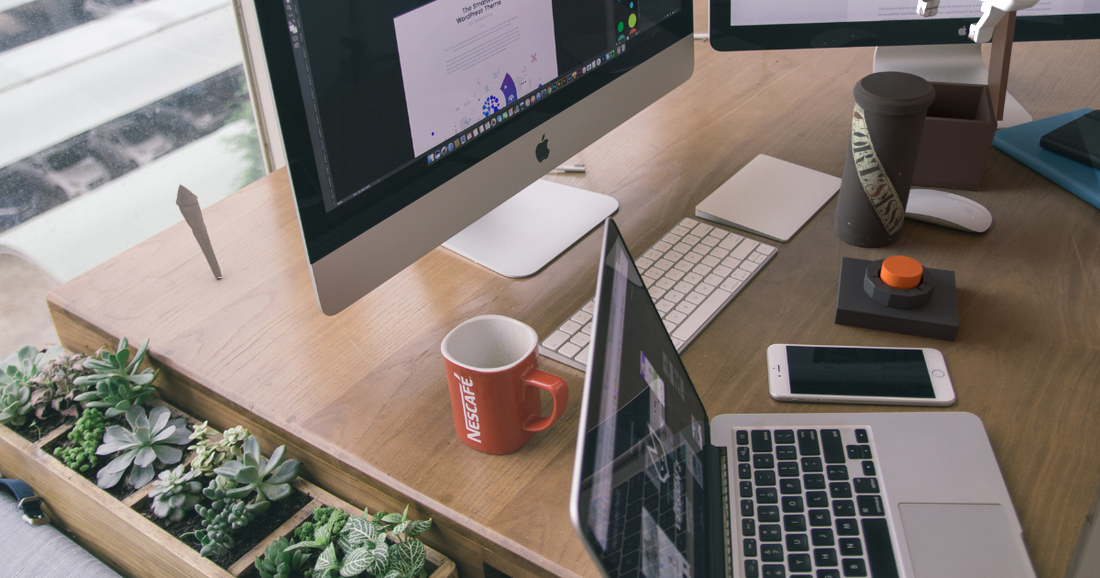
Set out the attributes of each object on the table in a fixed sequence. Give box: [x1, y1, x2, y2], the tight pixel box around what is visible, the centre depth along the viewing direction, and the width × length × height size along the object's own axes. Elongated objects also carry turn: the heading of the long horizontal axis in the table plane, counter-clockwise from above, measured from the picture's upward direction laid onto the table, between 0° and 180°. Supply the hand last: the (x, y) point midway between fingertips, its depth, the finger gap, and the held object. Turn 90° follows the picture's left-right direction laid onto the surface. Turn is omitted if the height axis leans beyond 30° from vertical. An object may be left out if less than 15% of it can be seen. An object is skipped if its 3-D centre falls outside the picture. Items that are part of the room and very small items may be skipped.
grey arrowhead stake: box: [175, 184, 223, 279], centre depth 97 cm, size 2×3×14 cm
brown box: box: [911, 80, 999, 192], centre depth 108 cm, size 16×13×10 cm
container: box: [832, 70, 936, 248], centre depth 93 cm, size 9×9×20 cm
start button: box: [880, 255, 923, 290], centre depth 84 cm, size 4×4×2 cm
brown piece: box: [987, 10, 1018, 122], centre depth 98 cm, size 16×13×1 cm
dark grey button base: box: [833, 256, 960, 343], centre depth 86 cm, size 12×10×4 cm
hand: (951, 27), depth 88 cm, fingers open, 8 cm apart
